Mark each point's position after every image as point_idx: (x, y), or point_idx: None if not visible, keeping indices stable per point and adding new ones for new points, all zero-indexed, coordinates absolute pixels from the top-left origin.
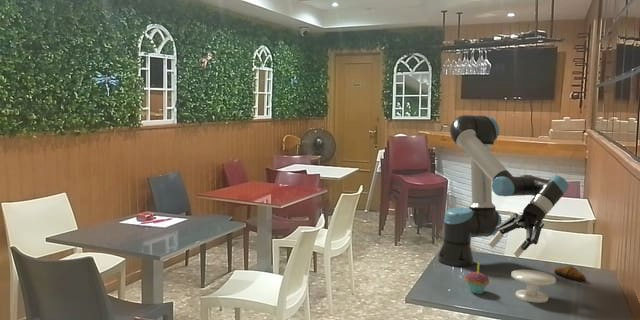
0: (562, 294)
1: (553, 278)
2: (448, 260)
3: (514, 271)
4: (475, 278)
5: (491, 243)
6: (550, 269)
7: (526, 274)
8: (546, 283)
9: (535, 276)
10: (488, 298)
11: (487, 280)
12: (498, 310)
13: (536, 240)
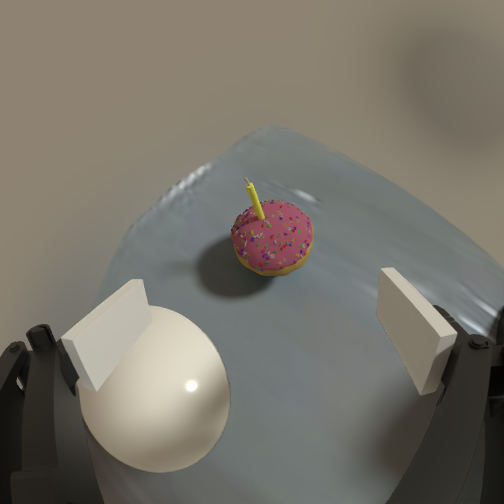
0: (174, 501)
1: (98, 432)
2: None
3: (211, 358)
4: (248, 208)
5: (384, 285)
6: None
7: (160, 376)
8: None
9: (130, 389)
10: (213, 255)
11: (236, 248)
12: (144, 231)
13: (24, 394)
